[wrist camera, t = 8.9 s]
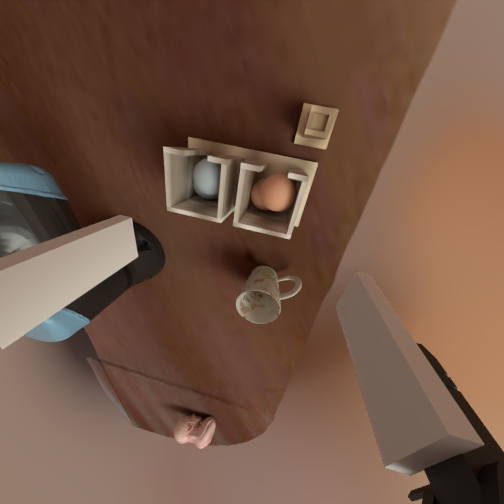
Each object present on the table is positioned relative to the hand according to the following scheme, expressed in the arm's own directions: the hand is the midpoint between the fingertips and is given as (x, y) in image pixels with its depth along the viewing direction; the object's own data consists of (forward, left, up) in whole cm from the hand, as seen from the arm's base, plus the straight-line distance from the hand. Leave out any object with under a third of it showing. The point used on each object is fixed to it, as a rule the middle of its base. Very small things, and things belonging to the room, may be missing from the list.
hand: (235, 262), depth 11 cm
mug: (+4, -18, -26) cm, 32 cm away
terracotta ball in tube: (0, 0, -25) cm, 25 cm away
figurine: (-11, -108, -26) cm, 112 cm away
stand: (+4, +10, -26) cm, 28 cm away
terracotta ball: (0, 0, -20) cm, 20 cm away
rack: (-5, 0, -26) cm, 26 cm away
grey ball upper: (-10, 0, -20) cm, 22 cm away
